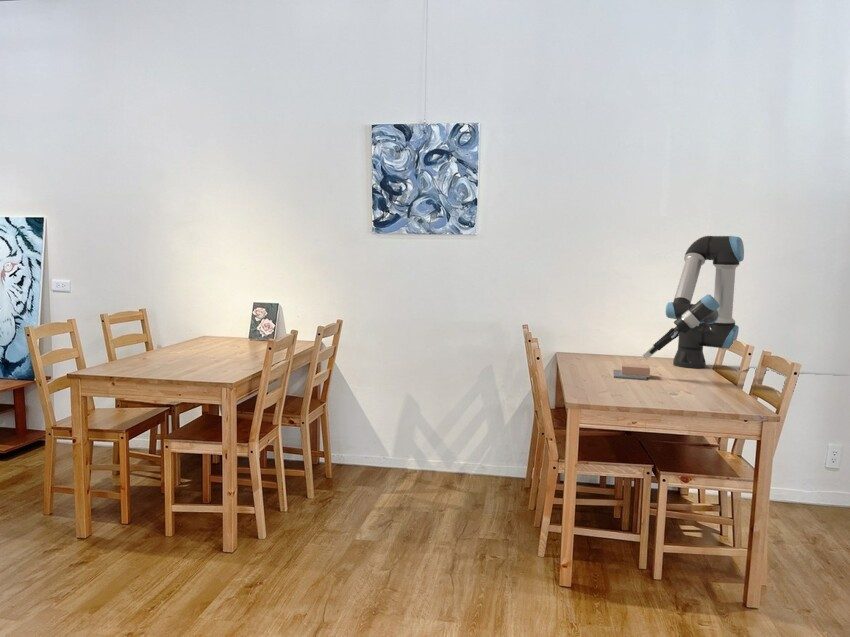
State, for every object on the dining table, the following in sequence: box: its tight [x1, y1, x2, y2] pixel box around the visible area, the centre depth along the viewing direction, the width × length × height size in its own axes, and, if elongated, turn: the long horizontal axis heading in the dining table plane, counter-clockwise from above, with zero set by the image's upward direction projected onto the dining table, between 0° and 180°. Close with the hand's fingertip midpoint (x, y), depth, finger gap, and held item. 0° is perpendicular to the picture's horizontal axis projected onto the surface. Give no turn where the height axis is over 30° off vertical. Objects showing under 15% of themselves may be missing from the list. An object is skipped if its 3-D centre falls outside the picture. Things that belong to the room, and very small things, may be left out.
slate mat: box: [613, 369, 648, 381], centre depth 300 cm, size 14×16×1 cm
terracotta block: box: [620, 362, 651, 378], centre depth 299 cm, size 4×9×12 cm
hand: (644, 357), depth 298 cm, fingers closed
